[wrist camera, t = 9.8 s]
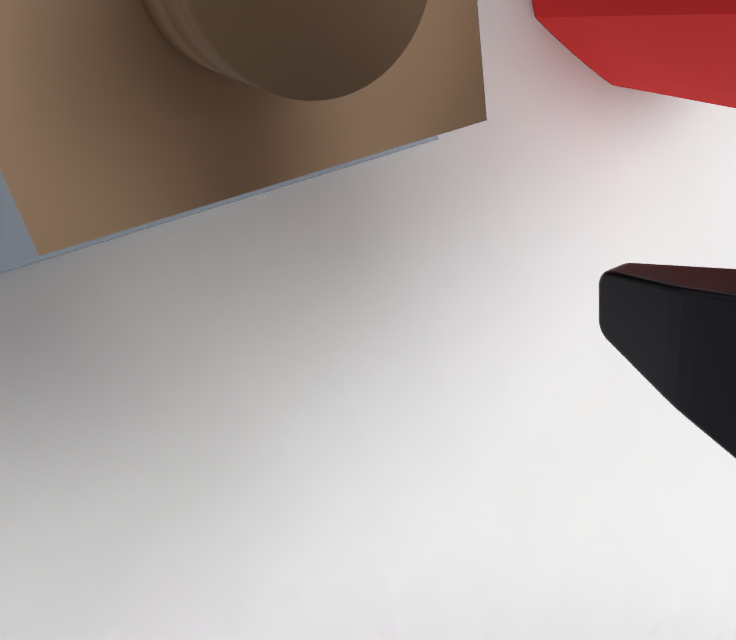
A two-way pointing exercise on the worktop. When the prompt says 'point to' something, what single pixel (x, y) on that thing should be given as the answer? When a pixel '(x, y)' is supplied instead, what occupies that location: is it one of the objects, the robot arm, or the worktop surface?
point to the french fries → (652, 43)
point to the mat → (16, 249)
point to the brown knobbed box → (214, 99)
